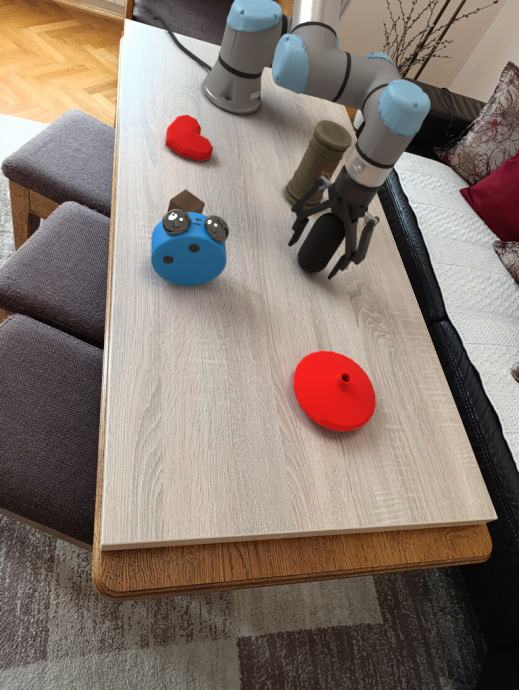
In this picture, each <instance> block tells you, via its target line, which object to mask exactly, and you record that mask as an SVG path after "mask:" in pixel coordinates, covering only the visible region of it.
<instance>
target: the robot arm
mask: <svg viewBox="0 0 519 690" xmlns="http://www.w3.org/2000/svg"><path fill="white" fill-rule="evenodd" d="M352 2H353V0H294V1H293V8H292V16H290V15H287V14H284V13H283V9H282V6H281V4H279V3H278V2H277V1H275V0H234V1H233V2H232V4H231V7H230V10H229V13H228V15H227V17H226V25H225V28H224V33H223V35H222V40H221V44H220V49H219V52H218V56H217V59H216V61H215V63H213V64H214V65H213V66H211V65H209V64H208V63H207V62H206V61H204V60H202V59H201V58H200V57H198V56H197V55H196V54H194V53H193V52H192V51H190V50H189V49H188V48H186V47H185V46H184V45H183V44H182V43H181V42H180V41H179V40H178V38H177V36H176V35H175V33H174V32H173V31H172V29H171V28H170V27H169V26H168V24H167V22H166V21H165V20H164V19H163V18H162V17H161V15H154V16H153V17H152V19H153V20H155V21H156V20H158V21H159V22H160V23H161V24H162V25H163V28H164V29H165V30H166V32H168V34H169V35H170V37H171V39H172V40H173V42H174V43H175V44H176V46H178V47H179V48H180V49H181V50H182V51H183V52H184V53H185V54H187V55H188V56H190V57H191V58H192V59H193V60H195V61H196V62H197V63H199V64H200V65H201V66H203V67H204V68H206V69H207V70H208V71H210V72H208V74H207V75H206V77H205V79H204V81H203V85H202V90H203V93H204V94H205V96H206V98H207V99H208V101H210V102H211V104H213V105H214V106H216V107H217V108H219V109H222V110H223V111H226V112H228V113H232V114H236V115H251V114H253V113H256V111H258V109H259V107H260V104H261V100H262V75H263V73H264V70H265V68H269V69H271V77H272V81H273V82H274V84H275V85H276V86H278V87H279V88H283V89H285V90H287V91H290V92H293V93H295V94H297V95H306V96H308V97H312V98H316V99H320V100H324V101H327V102H331V103H334V104H337V105H341V106H344V107H348V108H351V109H354V110H358V111H360V113H361V115H362V118H363V119H362V120H363V121H364V123H365V125H364V126H363V129H362V131H361V133H360V134H359V136H358V137H357V140H356V141H355V144H354V145H353V147H352V149H351V150H350V153H349V154H348V156H347V158H346V160H345V162H344V164H343V165H342V167H341V169H340V171H339V172H338V174H337V176H336V178H335V179H334V181H333V182H332V181H331V180H330V181H329V180H328V176H327V175H326V174H324V175H322V176H320V177H319V178H317V179H316V180H315V183H314V185H313V187H312V188H311V189H310V190H309V191H308V192H307V193H306V194H305V195H304V196H303V197H302V198H301V199H300V200H299V201H298V202H297V203H296V204H294V205H292V206H291V208H290V211H291V212H292V213H294V214H295V215H296V218H295V220H294V222H293V224H292V226H291V230H292V231H293V234H292V236H291V238H290V239H289V242H288V243H287V246H288V247H289V248H291V247H293V246H294V245H296V244H297V243H298V241H299V240H300V238H301V237H302V234H303V233H304V231H305V229H306V227H307V225H308V223H309V222H310V220H311V219H310V218H309V217H312V216H314V215H316V214H318V213H321V212H323V211H326V210H328V209H330V211H329V212H333V213H334V214H336V215H337V216H338V217H339V218H340V219H341V220H342V221H344V228H345V238H344V253H343V254H342V255H341V256H340V257H339V259H338V260H337V261H336V263H335V265H334V266H333V268H332V269H331V270H330V272H329V274H328V275H327V277H326V280H328V281H330V280H332V279H333V278H334V277H335V276H337V274H338V272H339V271H341V272H344V271H345V270H346V269H347V268H348V267H349V265H350V264H351V263H353V265H355V266H358V265H360V264H361V263H362V262H363V261H364V260H365V259H366V255H367V253H368V249H369V246H370V242H371V239H372V237H373V234H374V231H375V228H376V226H377V225H378V224H379V223H380V220H381V219H380V217H379V216H377V215H376V216H373V215H372V214H371V212H369V206H370V204H371V203H372V201H373V199H374V198H375V197H376V195H377V194H378V192H379V190H380V189H381V186H382V185H383V184H384V183H385V181H386V180H387V178H388V177H389V175H390V174H391V172H392V170H393V169H394V167H395V165H396V164H397V162H398V161H399V159H400V158H401V157H402V155H403V154H404V152H405V151H406V149H407V148H408V146H409V145H410V143H411V142H412V140H413V139H414V137H415V136H416V135H417V133H418V132H419V131H420V129H421V127H422V124H423V122H424V120H425V119H426V117H427V115H428V114H429V112H430V110H431V99H430V97H429V95H428V94H427V92H426V93H425V92H424V91H423V89H422V88H421V86H419V85H417V84H416V83H414V82H411V81H410V80H406V79H401V74H400V71H399V69H398V68H397V65H396V64H395V62H394V61H393V60H392V58H391V57H390V56H389V55H387V54H386V53H385V52H381V51H373V52H370V53H366V54H364V55H363V56H361V55H357V54H354V53H351V52H348V51H345V50H342V49H339V48H340V47H339V46H340V38H339V24H340V22H341V20H342V19H343V17H344V15H345V14H346V12H347V11H348V9H349V7H350V5H351V3H352ZM324 189H326V190H327V197H328V199H326V200H324V201H321V203H320V204H317V205H315V206H313V207H311V208H309V209H306V210H304V209H303V206H304V205H306V204H307V203H308V202H309V201H310V200H311V199H312V198H313V197H314V196H315V195H316V194H317V193H318V192H320V191H321V190H324ZM361 218H362V219H363V222H362V226H363V228H362V229H361V232H360V236H359V241H358V223H359V219H361Z"/></svg>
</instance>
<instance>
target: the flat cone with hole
mask: <svg viewBox="0 0 519 690" xmlns="http://www.w3.org/2000/svg"><path fill="white" fill-rule="evenodd" d="M293 374H294V375H293V383H292V387H293V392H294V396H295V397H294V398H295V399H296V401H297V403H298V405H299V407H300V408H301V410H302V411H303V412H304V414H305V415H306V416H307V418H309V419H311V420H312V421H313V422H314V423H315V424H316V425H318V426H321V427H323V428H325V429H327V430H330V431H335V432H351V431H354V430H358V429H360V428H363V426H365V425H366V424H368V423H370V420H371V418H372V417H373V415H374V413H375V410H376V406H377V405H376V404H377V403H376V401H377V400H376V399H377V398H376V393H375V389H374V385H373V383H372V381H371V379H370V378H369V375H368V374H367V372H365V370H364V369H363V368H362V366H361V365H360V364H358V363H357V362H356V361H355V360H353V359H352V358H350V357H348V356H346V355H344V354H342V353H339V352H335V351H331V350H317V351H314V352H311V353H309V354H307V355H305V356H304V357H302V359H301V360H300V361H299V362H298V363H297V366H296V368H295V371H294V373H293Z"/></svg>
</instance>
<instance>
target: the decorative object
mask: <svg viewBox="0 0 519 690" xmlns="http://www.w3.org/2000/svg"><path fill="white" fill-rule="evenodd" d="M343 241H345V228H344V221H342V220H341V219H340V218H339V217H338V216H337V215H336V214H334V213H333V212H331V211H328V212H325V213H322V214H320V215H319V216H318V217H317V218H316V220H315V221H314V223H313V225H312V226H311V228H310V230H309V232H308V233H307V235H306V237H305V239H304V240H303V242H302V244H301V246H300V248H299V250H298V252H297V256H296V257H297V264H298V266H299V268H300V269H301V270H302V271H303V272H305V273H307V274H311V275H314V274H318V273H320V272H322V271H323V270H325V269H326V268H327V266H328V264H329V263H330V262H331V260H332V259H333V257H334V255H335V254H336V253H337V251H338V250H339V248H340V246H341V245H342V244H343Z"/></svg>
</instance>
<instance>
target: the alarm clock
mask: <svg viewBox="0 0 519 690" xmlns="http://www.w3.org/2000/svg"><path fill="white" fill-rule="evenodd" d="M229 235H230V228H229V226H228V223H227V222H226V220H225V219H223V217H221V216H219V215H215V214H211V215H209V216H207V215H205V214H203V213H202V214H199V213H193V212H186V211H184V210H181V209H174V210H171V211H169V212H168V213H167V212H166V213H165V214H164V216H163V217H162V219H161V220H160V221H159V222H158V223H157V224H156V225H155V226H154V228H153V230H152V233H151V238H150V239H151V241H150V243H151V246H150V263H151V266H152V268H153V270H154V272H155V273H156V274H157V275H158V276H159V277H160V278H161V279H162V280H164V281H167V282H169V283H171V284H174V285H178V286H185V287H186V286H187V287H189V286H190V287H193V286H199V285H204V284H207V283H210V282H211V281H213V280H215V279H216V278H218V276H220V275H221V274H222V272H224V270H225V267H226V265H227V262H228V261H227V260H228V259H227V247H226V241H227V239H228V238H229Z"/></svg>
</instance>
